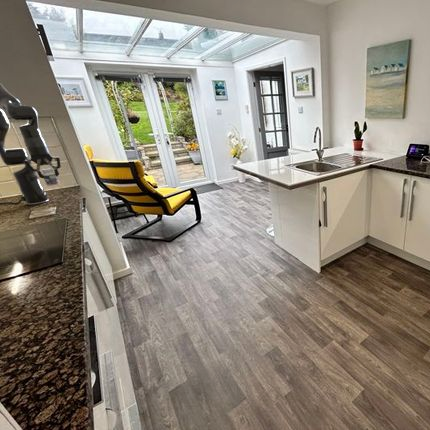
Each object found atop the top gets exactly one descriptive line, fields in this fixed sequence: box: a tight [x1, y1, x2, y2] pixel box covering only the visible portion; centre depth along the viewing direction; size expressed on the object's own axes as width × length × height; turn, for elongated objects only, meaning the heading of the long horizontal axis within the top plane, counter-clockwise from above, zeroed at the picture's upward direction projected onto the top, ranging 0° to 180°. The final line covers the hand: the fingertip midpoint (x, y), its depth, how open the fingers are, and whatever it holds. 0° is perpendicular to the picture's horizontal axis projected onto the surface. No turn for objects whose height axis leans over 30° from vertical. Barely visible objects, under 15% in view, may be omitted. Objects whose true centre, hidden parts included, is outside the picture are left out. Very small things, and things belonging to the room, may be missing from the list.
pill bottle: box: [41, 167, 60, 187], centre depth 145 cm, size 5×5×9 cm
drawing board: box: [28, 206, 57, 221], centre depth 146 cm, size 16×10×1 cm, turn 42°
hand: (50, 177), depth 145 cm, fingers closed on pill bottle, 5 cm apart
